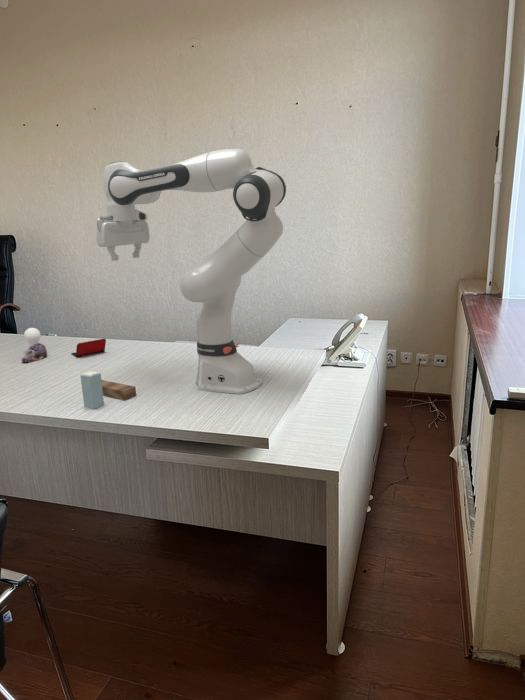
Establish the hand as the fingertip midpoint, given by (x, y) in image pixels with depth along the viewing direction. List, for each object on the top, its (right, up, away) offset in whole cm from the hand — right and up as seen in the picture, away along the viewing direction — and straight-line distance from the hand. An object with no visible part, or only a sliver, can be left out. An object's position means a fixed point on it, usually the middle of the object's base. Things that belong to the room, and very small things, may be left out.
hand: (126, 259), depth 174 cm
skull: (-46, -34, +35) cm, 67 cm away
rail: (-3, -44, -6) cm, 44 cm away
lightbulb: (-49, -32, +45) cm, 73 cm away
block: (-6, -47, -16) cm, 49 cm away
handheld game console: (-25, -32, +41) cm, 58 cm away
